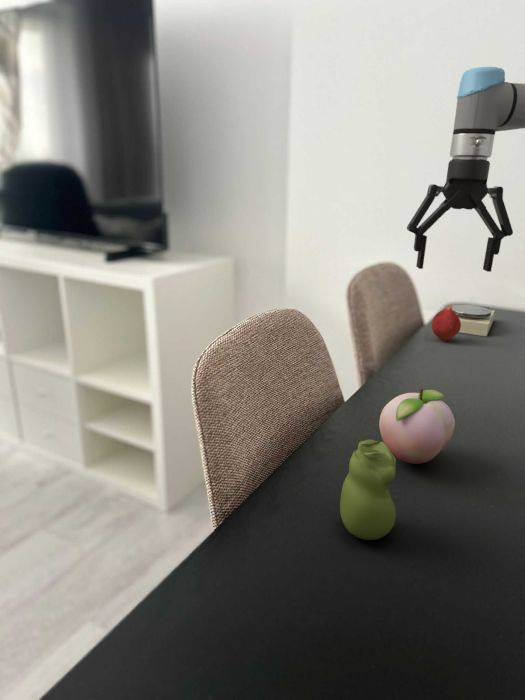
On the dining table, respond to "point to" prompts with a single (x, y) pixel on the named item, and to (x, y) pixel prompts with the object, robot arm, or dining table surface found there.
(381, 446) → the pear
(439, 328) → the onion
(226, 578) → the dining table surface
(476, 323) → the scale
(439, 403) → the decorative fruit
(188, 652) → the dining table surface
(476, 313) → the scale platform
